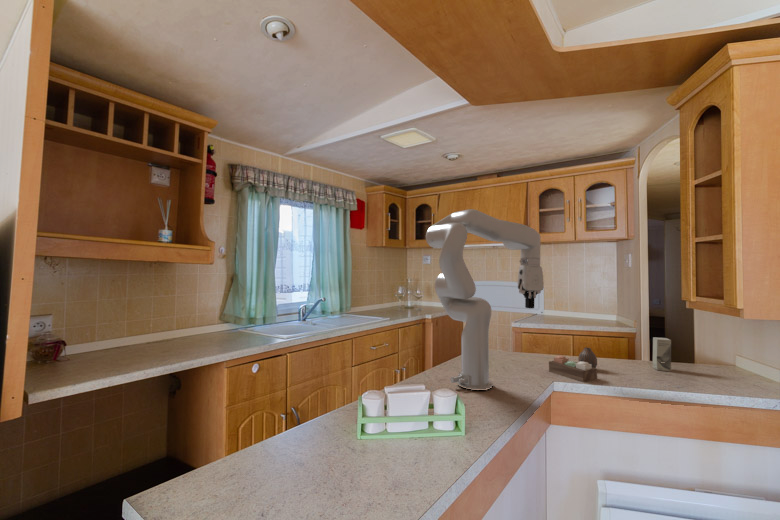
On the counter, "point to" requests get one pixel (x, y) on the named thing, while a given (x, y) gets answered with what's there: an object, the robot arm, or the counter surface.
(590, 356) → the vase
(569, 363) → the sage button
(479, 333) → the robot arm
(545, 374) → the counter surface
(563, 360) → the terracotta button
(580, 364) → the cream button
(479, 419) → the counter surface
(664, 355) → the box
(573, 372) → the brown tray
